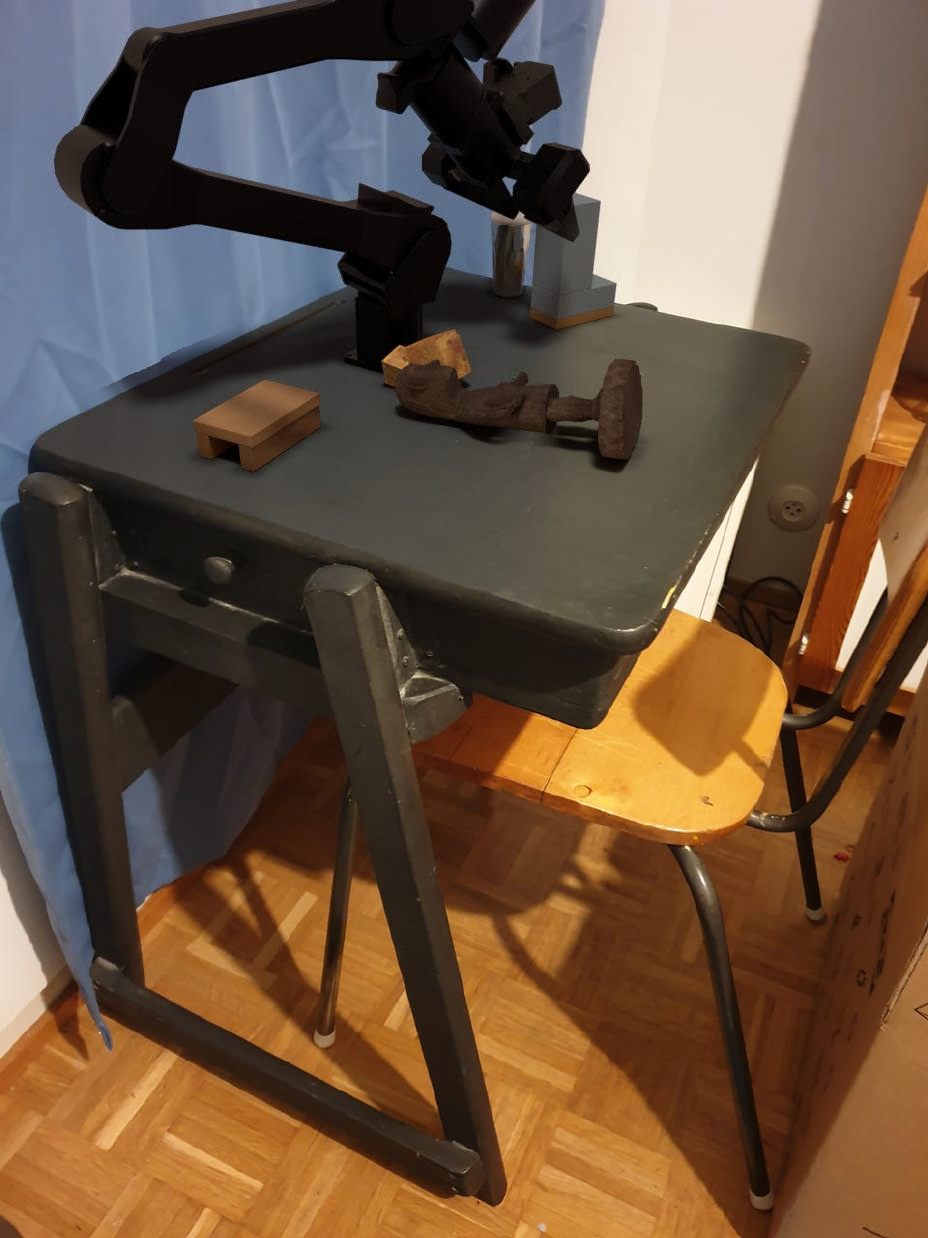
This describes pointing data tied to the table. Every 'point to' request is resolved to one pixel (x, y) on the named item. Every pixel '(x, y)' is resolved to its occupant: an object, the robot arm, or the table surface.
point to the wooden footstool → (259, 423)
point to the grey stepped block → (570, 273)
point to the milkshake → (509, 253)
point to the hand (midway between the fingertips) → (544, 226)
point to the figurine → (530, 403)
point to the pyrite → (428, 355)
